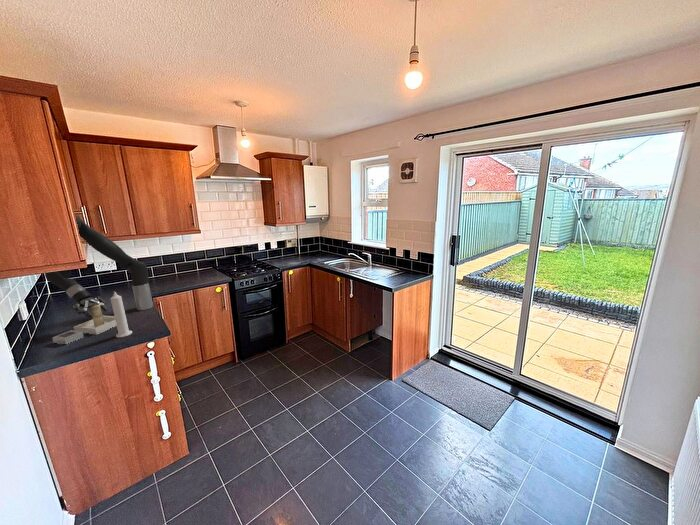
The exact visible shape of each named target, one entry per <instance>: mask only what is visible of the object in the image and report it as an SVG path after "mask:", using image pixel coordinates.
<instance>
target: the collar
mask: <svg viewBox="0 0 700 525" xmlns="http://www.w3.org/2000/svg"><path fill="white" fill-rule="evenodd" d="M80 338H81V339H83V338H85V336H84V333H83V332H82V331H74V329H73V330H68V331H65V332H63V333H62V332H61V333H60V334H57V335H55V336H53V337H52V342H53V344H54V343H57V344H56V345H62V344H67V345H69V344H71V343H70V342H72V343H74V342H76V341H79V340H81V339H80ZM78 339H79V340H78ZM75 340H76V341H75ZM73 341H74V342H73ZM68 343H69V344H68Z"/></svg>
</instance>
